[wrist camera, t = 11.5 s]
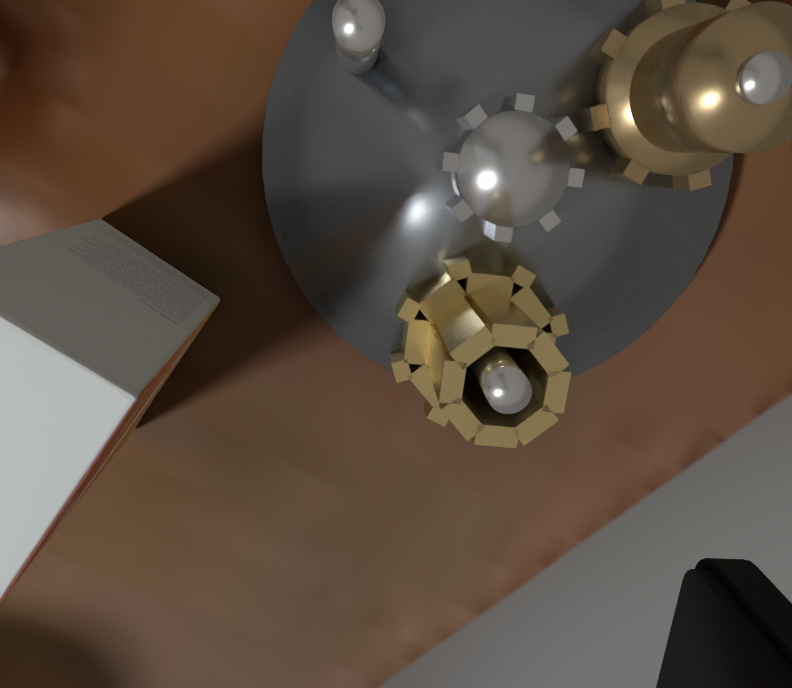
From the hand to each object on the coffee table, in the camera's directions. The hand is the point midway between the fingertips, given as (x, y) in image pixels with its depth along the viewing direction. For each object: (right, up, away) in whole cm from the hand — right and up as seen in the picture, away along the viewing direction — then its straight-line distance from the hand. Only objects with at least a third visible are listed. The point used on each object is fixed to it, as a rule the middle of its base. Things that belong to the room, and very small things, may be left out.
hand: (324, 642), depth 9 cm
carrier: (+5, +11, +21) cm, 25 cm away
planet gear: (+4, +4, +22) cm, 23 cm away
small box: (-12, +4, +22) cm, 26 cm away
